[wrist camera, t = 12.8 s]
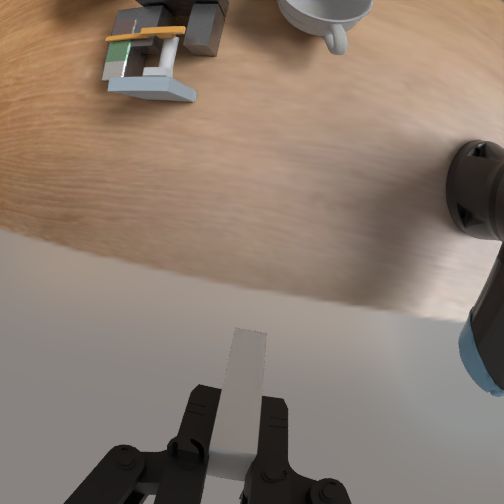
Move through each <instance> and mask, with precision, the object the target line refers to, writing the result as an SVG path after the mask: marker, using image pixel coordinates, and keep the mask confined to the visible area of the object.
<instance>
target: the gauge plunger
mask: <svg viewBox="0 0 504 504" xmlns="http://www.w3.org/2000/svg"><path fill="white" fill-rule="evenodd" d="M178 42H179V38H178V37H175V38H165V39H164V43H163V47H162V52H161V56H160V61H159V65H158V67H144V71H143V76H145V77H117V78H110V80H109V85H108V91H109V92H114V93H119V94H124V95H128V96H133V97H137V98H142V99H146V100H171V101H186V102H195V100H196V95H197V91H196V90H194V89H192V88H190V87H188V86H187V85H185V84H183V83H181V82H179V81H177V80H175V79H173V78H172V75H173V71H172V70H173V65H174V60H175V56H176V51H177V47H178Z"/></svg>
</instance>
